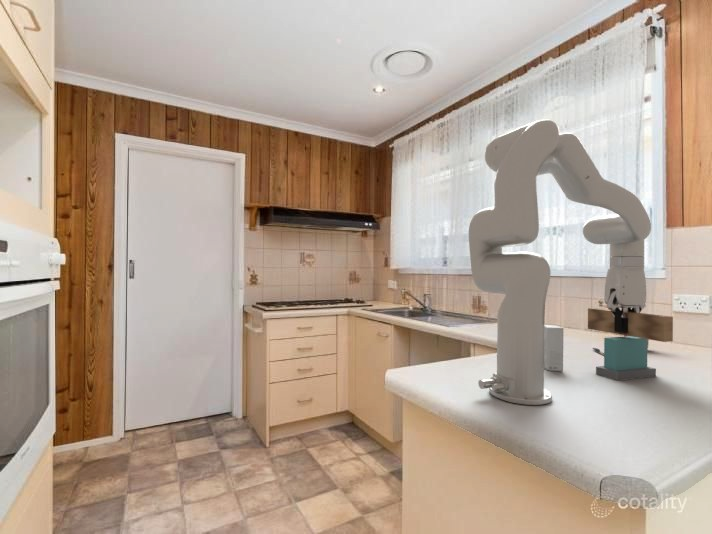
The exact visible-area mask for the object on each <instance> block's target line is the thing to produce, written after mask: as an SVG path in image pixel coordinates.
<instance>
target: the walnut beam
mask: <svg viewBox="0 0 712 534" xmlns="http://www.w3.org/2000/svg"><path fill="white" fill-rule="evenodd" d="M626 318H628V333H620V332H615V331H614V317H613V313H612V312H611V310H609V309H608V308H607V309H606V308H598V307H597V308H596V307H594V308H593V307H592V308H591V307H590V308H589V307H588V308H587V330H592V331H593V330H594V331H597V332H598V331H599V332H605V333H610V334H617V335H622V336H624V335H627V336H632V337H638V338H644V339H649V341H650V340H651V341H658V342H662V343H667V342H673V341H674V337H673V336H674V334H673V332H674V331H673V330H674V316H673V315H672V316H671V315H670V316H669V315H662V314H654V313H653V314H652V313H645V312H644V313H643V312H640V313H636V312H627V311H626Z"/></svg>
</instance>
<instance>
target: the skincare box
mask: <svg viewBox="0 0 712 534" xmlns="http://www.w3.org/2000/svg"><path fill="white" fill-rule="evenodd" d="M564 330H565V329H564V328H563V327H561V326H558V325H556V324H555V325H554V324H544V370H547V371H553V372H563V371H564Z"/></svg>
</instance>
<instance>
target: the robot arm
mask: <svg viewBox="0 0 712 534" xmlns="http://www.w3.org/2000/svg"><path fill="white" fill-rule="evenodd" d="M484 161H485V163H486V165H487V166H488V167H489V169H490V170H491V171H493V172H495V173H496V174H495V179H494V188H493V189H494V206H491V207H487V208H484V209H480V210H479V211H478V212H476V213H475V214H474V215H473V216H472V218H471V220H470V222H469V226H468V246H469V247H468V248H469V257H470V268H471V269H470V270H471V275H472V276H471V277H472V280H473V282H474V284H475V286H476V287H477V288H478V289H479V290H480V291H483V292H485V293H489V294H490V293H492V294H499V295H500V294H501V295H505V296H504V298H503V299H502V301H501V303H500V305H499V307H498V311H497V318H496V319H497V326H496V328H497V330H496V332H497V333H496V337H497V338H496V339H497V340H496V341H497V342H496V372H493V373H492V377H490V378H488V379H487V378H484V379H479V380H478V383H477V384H478V387H479V389H480V390H481V389H482V390H486V389H489V393H490V394H491V395H492V396H493V397H494V398H497V399H500V400H502V401H505V402H509V403H513V404H520V405H524V406H525V405H526V406H541V405H547V404H549V403H551V402H552V400H553V395H552V393H551V392H550V391H549V390H548V389H546V388H545V368H544V325H545V317H546V315H545V314H546V312H545V311H546V301H547V293H548V290H549V285H550V282H551V275H552V274H551V273H552V272H551V267H550V264H549V262H548V261H547V260H546V259H545V257H543V256H542V255H540V254H539V253H535V252H532V251H531V252H530V251H529V252H528V251H517V252H514V251H513V252H511V251H510V252H503V248H508V247H519V246H525V245H527V246H528V244H532V243H533V242H534V241H536V240H537V238H538V235H539V231H540V230H539V229H540V222H539V221H540V218H539V206H538V195H537V194H538V193H537V190H538V189H537V188H538V187H537V186H538V185H537V184H538V183H537V181H538V177H539V176H543V175H547V174H548V175H549V174H550V175H552V177H553V178H554V180H555V182H556V183H557V185H558V186H559V188H560V189H561V190H562V193H563V194H564V196H565V197H566V198H567V199H568V200H569V201H572V202H574V203H578V204H583V205H589V206H593V207H599V208H603V209H606V210H609V211H611V212H612V213H613V214H608V215H601V216H600V215H599V216H594V217H591V218H589V219H588V220H587V221H586V222H585V223H584V225H583V227H582V234H583V237H584V239H585V240H586V241H587V242H589V243H591V244H594V245H609V268H608V269H607V272H606V276H605V284H604V303H605V306H606V308H607V309H609V310H611V312H612V313H613V317H614V331H615V332H620V333H628V318H626V311H627V312H636V313H642V310H643V309H645V308H646V307H647V305H646V304H647V303H646V302H647V282H646V273H645V240H646V239H647V238H648V237H649V235H650V233H651V230H652V224H651V219H650V217H649V214H648V213H647V210H646V209H645V207H644V205H643V204H642V202H641V200H640V199H639V198H638V197H637V196H636V194H634V193H633V192H631V191H629V189H626V188H625V187H623V186H622V185H621V186H620V185H619V184H616V183H614V182H612V181H610V180H607V179H606V178H604V177H603V176H602V175H601V174H600V171H599V170H598V168H597V167H596V165H595V163H594V162H593V160H592V158H591V156H590V155H589V152H588V151H587V149H586V148H585V146H584V145H583V143H582V141H581V139H580V138H579V137H578V136H577V135H576V134H575V133H572V132H571V133H570V132H563V133H560V128H559V126H558V124H557V122H555V121H554V120H552V119H551V120H550V119H539V120H535V121H533V122H529V123H528V124H524V125H523V126H520V127H518V128H515V129H514V130H511V131H509V132H507V133H504V134H502V135H499V136H498V137H495V138H493V139H492V140H491V141H489V143H488V144H487V145H486V147H485V149H484Z"/></svg>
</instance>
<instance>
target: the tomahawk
mask: <svg viewBox="0 0 712 534" xmlns="http://www.w3.org/2000/svg"><path fill="white" fill-rule="evenodd" d="M592 350H594V351H595V353H596V354H598V355H600V356H602V357H604V352H602V351H601V350H600V349H599V348H596V347H592Z"/></svg>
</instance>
